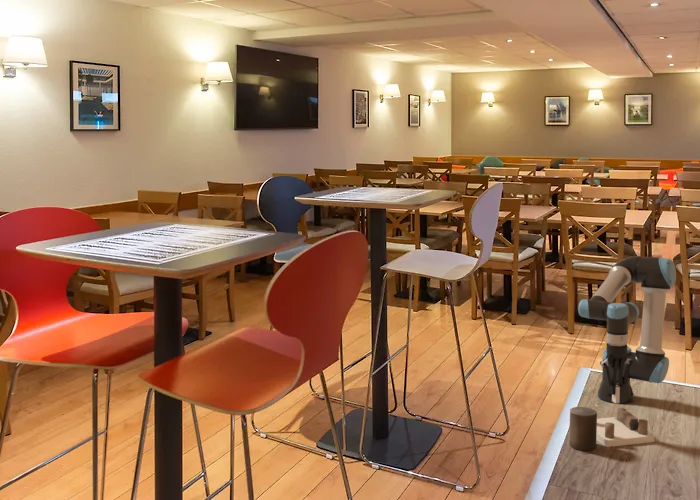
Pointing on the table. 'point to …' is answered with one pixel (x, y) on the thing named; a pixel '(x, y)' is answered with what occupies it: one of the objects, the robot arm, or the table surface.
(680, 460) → the table surface
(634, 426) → the folding leg
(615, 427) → the stool seat
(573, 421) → the pillar candle
